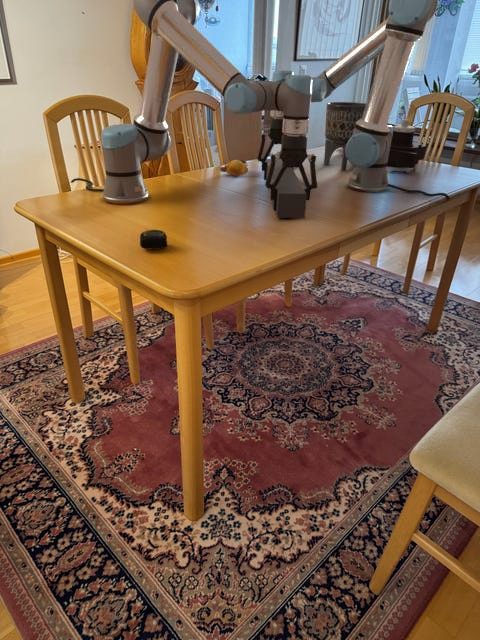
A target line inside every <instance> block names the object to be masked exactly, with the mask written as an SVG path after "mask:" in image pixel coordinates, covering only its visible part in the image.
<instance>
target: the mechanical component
mask: <svg viewBox="0 0 480 640" xmlns="http://www.w3.org/2000/svg"><path fill="white" fill-rule="evenodd" d="M409 123H410V119H402V120H401V124H399V125H397V124H396V125H393V126H392V127H393V136H392V139H391V145H390V151H389V156H388V162H387V168H386V170H387V171H388V172H389V173H393V171H396V172H405V174H410V172H411V171H413V170H415V168H417V167H418V166H419V161H422V160H424V159H425V157H426V154H427V149H428V148H427V147H428V145H425V144H423V143H421V142H417V141H414V137H415V132H416V126H412V125H409Z"/></svg>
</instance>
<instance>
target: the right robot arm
mask: <svg viewBox="0 0 480 640" xmlns="http://www.w3.org/2000/svg"><path fill="white" fill-rule="evenodd" d="M438 2H439V1H438V0H389V2H388V17H387V18H386V19H385V20H384V21H383V22H381V23H380V24H378V26H376V27H375V28H374V29H373V30H372V31H370V32H369V33H367V34H366V35H365V36H364V37H363V38H362V39H361V40H359V41H358V42H357V43H356V44H355V45H354V46H352V47H351V48H350V49H349V50H347V51H346V52H345V53H344V54H343V55H342V56H340V57H339V58H338V59H337V60H335V61H334V62H333V63H332V64H331V65H330V66H328V67H327V68H326V69H325V70H324V71H322V72H321V73H319V75H317V76H313V77H312V76H311V78H312V95H311V103H322V102H323V100H325V99H327V98H328V97H330V96H331V95H332V94H333V92H334V91H335V90H336V89H337V88H338V87H340V86H341V85H342V84H344V83H346V81H347V80H349V79H350V78H351V77H353V76H354V75H355V74H356V73H358V72H359V71H361V70H362V69H363V68H364V67H366V66H367V65H368V64H370V62H372V61H374V59H376V58H377V57H379V55H380V59H379V63H378V66H377V69H376V71H375V75H374V79H373V82H372V85H371V88H370V91H369V95H368V98H367V101H366V107H365V111H364V114H363V117H362V118H361V119H360V120H358V121H357V122H356V125H355V128H354V131H353V134H352V137H351V138H350V139H349V140H348V142H347V144H346V148H345V154H346V157H347V159H348V160H347V162H348V163H350V164H351V165H352V166H353V171H351V174H350V176H349V179H348V182H347V187H348V188H349V189H351V190H354V191H358V192H363V193H364V192H365V193H382V192H386V191H388V189H389V188H392V189H395V190H398V191H401V192H405V193H408V194H409V193H410V194H421V195H423V196H425V197H426V196H427V197H439V196H441V197H444V198H445V199H451V198H450V196H449V194H447V193H445V192H436V193H429V192H426V191H424V190H420V189H406V188H403V187H400V186H397V185H394V184H390V183H389V178H388V173H387V172H388V169H386V168H387V162H388V156H389V151H390V145H391V139H392V136H393V127H394V126H392V125H388V122H389V119H390V116H391V112H392V110H393V107H394V105H395V102H396V99H397V96H398V93H399V90H400V87H401V84H402V82H403V78H404V76H405V72H406V71H407V70H406V69H407V66H408V65H409V61H410V58H411V55H412V52H413V49H414V46H415V44H416V42H417V41H419V40H421V39H422V38H423V35H424V32H425V29H426V27H427V24H428V23H429V22H430V21H431V20H432V19H433V17H434V16H435V13H436V12H437V8H438V4H439V3H438ZM287 75H294V71H293V70H288V69H287V70H285V69H283V70H282V69H280V70H279V69H277V70H276V69H275V70H274V71H273V72H272V76H271V77H272V78H271V82H285V80H286V76H287ZM269 116H270V117H271V118H269V131H268V132H267V133H265V132H262V133H261V134H260V138H261V140H260V145H259V149H258V153H257V157H256V158H257V161H258V162H261V171H262V172H263V180H264V181H266V174H267V162H266V159H268V157H269V156H270V154H271V151H272V149H273V147H274V145H281V144H282V136H283V134H284V133H283V132H282V128H283V111H273V110H270V115H269ZM268 138H269V139H270V142H269V144H268V146H267V148H266V150H265V153H264V154H263V152H264V147H265V143H266V140H267V139H268ZM292 169H293V170H294V167H292Z"/></svg>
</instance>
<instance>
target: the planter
mask: <svg viewBox="0 0 480 640" xmlns="http://www.w3.org/2000/svg"><path fill="white" fill-rule="evenodd" d="M366 104H367V102H353V101H333V102H327V103H326V109H325V124H324V125H325V126H324V139H325V144H324V156H323V157H324V158H323V165H325V166H328V165H330V163H331V158H332V156H333V154H334V153H335V152H336V150H337V149H338V148H340V147H342V153H341V166H340V170H341V172H345V171H347V167H348V166H347V165H348V159H347V157H346V154H345V148H346V144H347V142H348V140H349V139H350V138H351V137H352V134H353V131H354V128H355V125H356V122H357V121H358V120H360V119H361V118H362V117H363V114H364V111H365V107H366Z"/></svg>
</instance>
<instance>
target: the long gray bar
mask: <svg viewBox="0 0 480 640" xmlns="http://www.w3.org/2000/svg"><path fill="white" fill-rule="evenodd" d="M265 162H267V174H266V178H267V175H268V171H269V167H270V163H271V158H267V159H266V161H265ZM282 163H283V162H282V160H281V159H278V160H277V161H276V162H275V167H274V171H273V175H272V179H271V183H270V184H272V182H273V181H274V179H275V177H276V175H277V173H278V171H279V169H280V167H281V165H282ZM276 188H277V205H276V211H274V212H275V215H276V217H277V218H283V219H284V218H285V219H286V218H288V219H291V218H293V219H295V218H296V219H297V218H298V219H304V218H306V209H307V200H306V199H307V193H306V191H305V190H304V189H305V188H304V186H303V184H302V182H301V180H300V179H299V178H298V176H297V174H296V172H295V170H294V168H293V169H292V167H291V168H288V167H287V168H286V170H285V171H284V173H283V175H282V177H281V179H280V181H279V183H278V184H277V186H276ZM267 189H268V193H269V194H270V193H271V189H270V188H267ZM271 202H272V203H273V200H271Z"/></svg>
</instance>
